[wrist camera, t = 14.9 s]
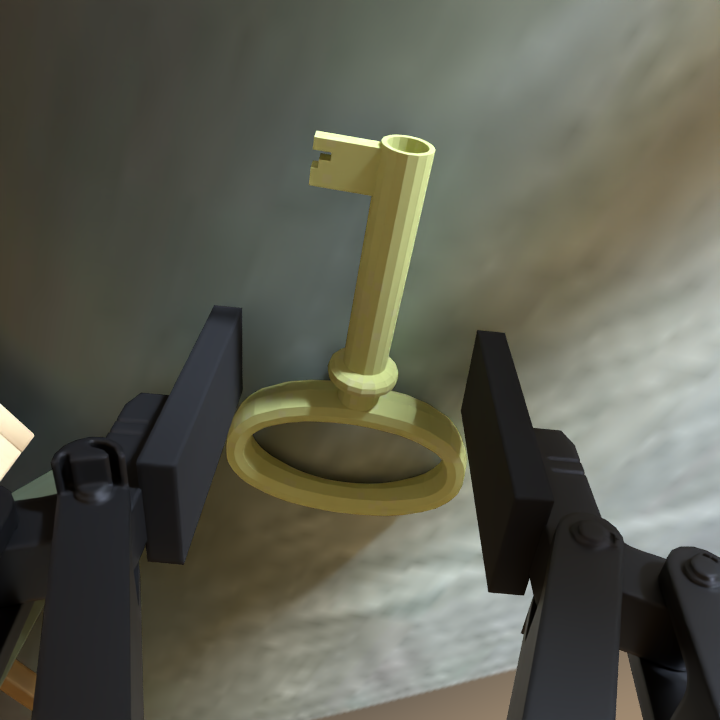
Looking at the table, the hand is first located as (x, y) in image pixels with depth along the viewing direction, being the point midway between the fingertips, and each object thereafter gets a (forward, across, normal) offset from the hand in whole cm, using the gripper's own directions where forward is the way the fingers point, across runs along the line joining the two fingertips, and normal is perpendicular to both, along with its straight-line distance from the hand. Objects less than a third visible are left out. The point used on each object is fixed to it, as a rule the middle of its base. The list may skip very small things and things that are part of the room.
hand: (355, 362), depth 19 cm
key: (+1, 0, 0) cm, 1 cm away
